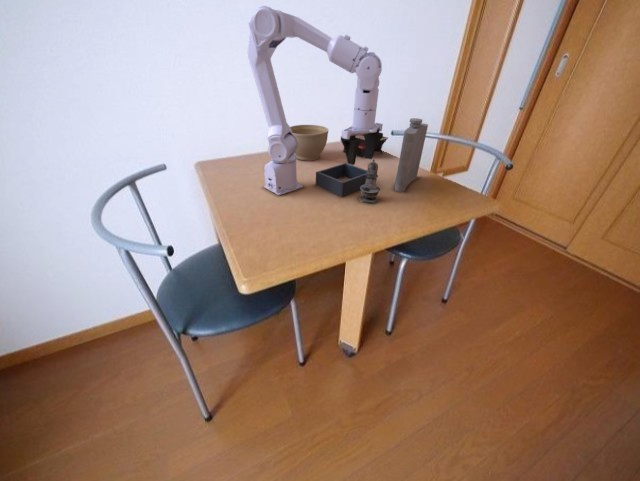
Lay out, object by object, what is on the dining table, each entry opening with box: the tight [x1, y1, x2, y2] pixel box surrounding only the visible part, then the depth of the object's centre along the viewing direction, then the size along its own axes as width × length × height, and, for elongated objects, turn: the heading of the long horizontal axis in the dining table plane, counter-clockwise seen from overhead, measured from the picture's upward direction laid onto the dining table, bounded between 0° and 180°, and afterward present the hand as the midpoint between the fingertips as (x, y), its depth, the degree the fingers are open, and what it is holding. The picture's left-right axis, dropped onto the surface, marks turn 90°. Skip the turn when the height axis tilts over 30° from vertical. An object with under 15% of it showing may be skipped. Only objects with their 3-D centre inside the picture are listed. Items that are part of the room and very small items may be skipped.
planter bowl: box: [290, 124, 329, 161], centre depth 112 cm, size 16×16×11 cm
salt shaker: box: [359, 159, 381, 205], centre depth 81 cm, size 6×6×12 cm
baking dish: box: [342, 134, 389, 158], centre depth 120 cm, size 14×18×10 cm
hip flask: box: [393, 117, 429, 193], centre depth 89 cm, size 16×4×20 cm, turn 148°
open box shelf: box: [315, 162, 367, 198], centre depth 91 cm, size 14×12×4 cm
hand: (359, 160), depth 81 cm, fingers open, 7 cm apart
